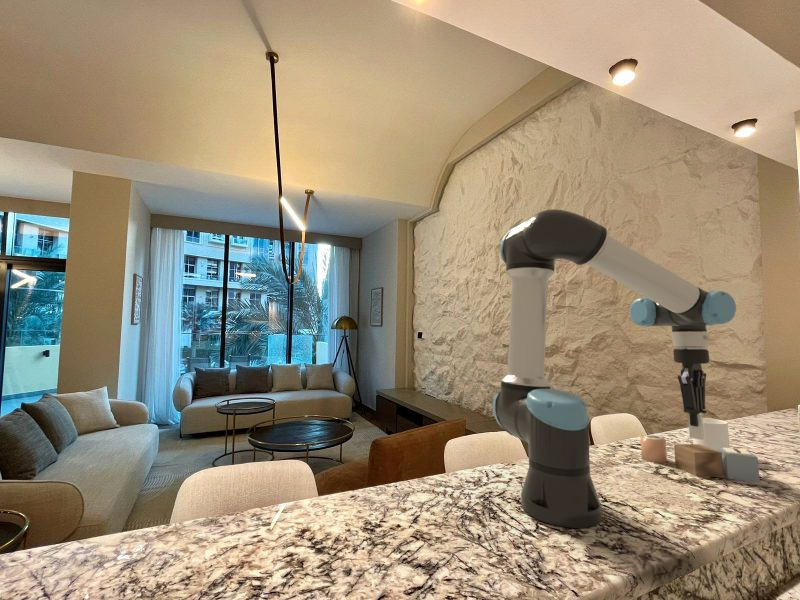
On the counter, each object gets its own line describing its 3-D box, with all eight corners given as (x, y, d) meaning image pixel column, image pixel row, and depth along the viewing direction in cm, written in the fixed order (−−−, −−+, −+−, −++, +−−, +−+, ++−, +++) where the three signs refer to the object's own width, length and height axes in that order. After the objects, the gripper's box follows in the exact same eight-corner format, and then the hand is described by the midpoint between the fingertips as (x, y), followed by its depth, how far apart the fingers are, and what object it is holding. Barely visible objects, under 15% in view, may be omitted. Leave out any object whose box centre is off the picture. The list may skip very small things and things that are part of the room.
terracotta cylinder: (647, 462, 105) (646, 438, 106) (637, 455, 111) (636, 433, 111) (671, 464, 104) (669, 439, 104) (660, 457, 110) (659, 434, 110)
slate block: (728, 478, 94) (726, 451, 94) (719, 470, 99) (717, 445, 100) (759, 482, 91) (757, 455, 92) (749, 474, 96) (747, 448, 97)
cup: (688, 453, 113) (686, 419, 114) (708, 448, 118) (706, 415, 119) (722, 462, 105) (719, 425, 106) (742, 455, 111) (739, 420, 112)
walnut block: (696, 477, 95) (694, 452, 95) (675, 467, 102) (674, 444, 102) (723, 477, 95) (721, 452, 95) (701, 467, 102) (699, 444, 102)
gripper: (698, 349, 94) (705, 446, 92) (716, 347, 102) (723, 437, 100) (664, 348, 100) (670, 439, 98) (683, 347, 108) (689, 431, 106)
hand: (696, 438), depth 99 cm, fingers closed
